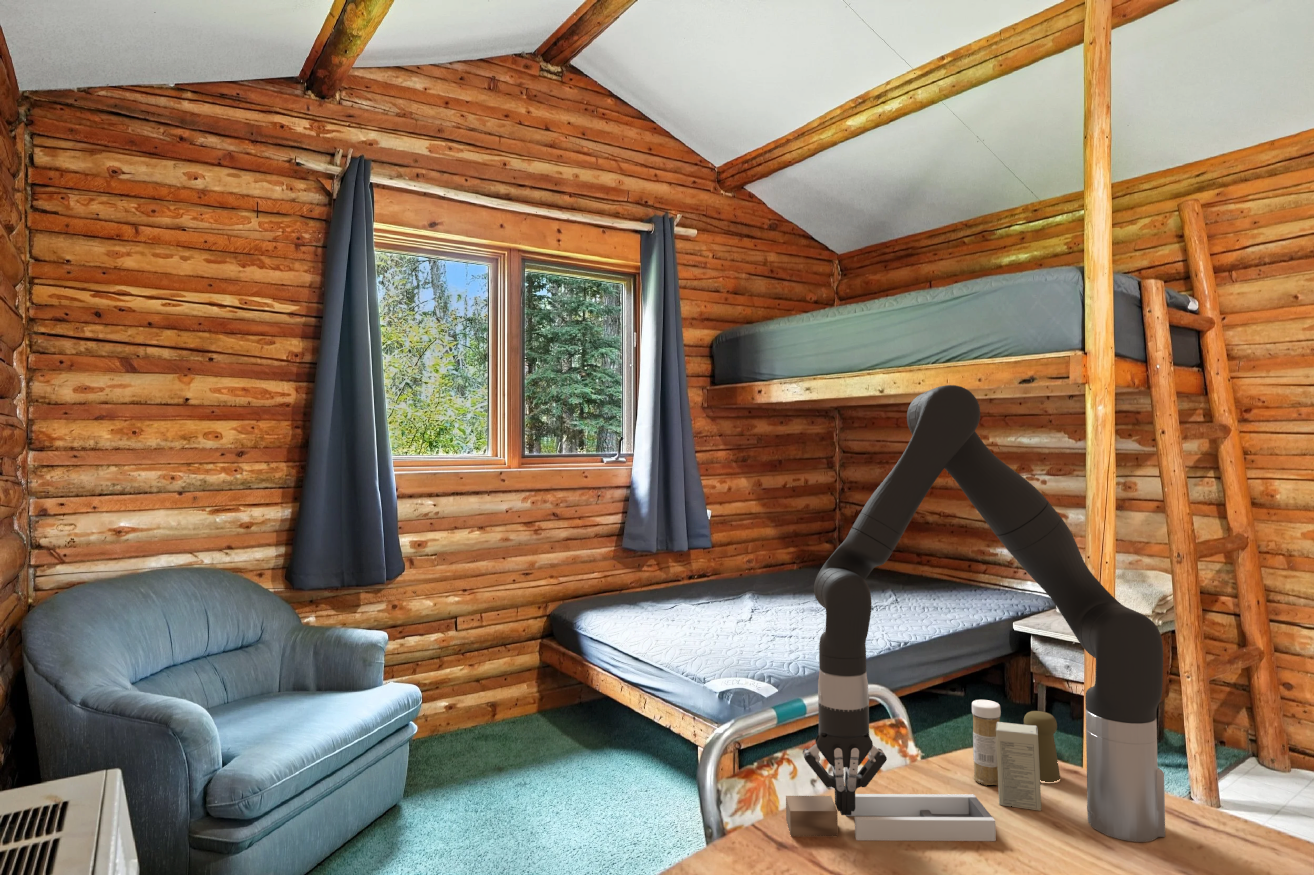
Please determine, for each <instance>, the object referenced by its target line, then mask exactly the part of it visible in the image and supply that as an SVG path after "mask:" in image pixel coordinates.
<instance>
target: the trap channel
mask: <svg viewBox="0 0 1314 875" xmlns="http://www.w3.org/2000/svg"><path fill="white" fill-rule="evenodd" d="M845 817H854V837H855V840H856V841H900V842H901V841H902V842H903V841H906V842H907V841H908V842H909V841H910V842H911V841H912V842H913V841H914V842H915V841H916V842H918V841H920V842H921V841H922V842H925V841H926V842H929V841H930V842H931V841H932V842H935V841H936V842H939V841H940V842H943V841H944V842H958V841H959V842H996V841H997V840H996V839H997V838H996V820H995V819H994V817H993V815H991V814H990V812H989V811H988V809H987V808H986V807H985V806H984V805H983V803H981V801H980V800H979V799H978V797H977V796H976V795H975V794H972V793H971V794H970V793H968V794H965V793H963V794H961V793H960V794H959V793H957V794H955V793H954V794H953V793H950V794H948V793H942V794H941V793H939V794H938V793H934V794H933V793H855V810H854V811H851V815H845Z"/></svg>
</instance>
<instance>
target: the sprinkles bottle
mask: <svg viewBox="0 0 1314 875" xmlns="http://www.w3.org/2000/svg"><path fill="white" fill-rule="evenodd" d="M971 713H972V719H973V720H972V722H973V726H972V729H973V730H972V744H973V745H972V750H973V768H974V769H973V773H974V774H973V780H974V781H975V782H976V781H977V782H976V783H978V784H980V783H981V784H980V785H983V784H984V785H983V786H987V785H997V786H998V767H997V745H996V724H997V722H1000V719H1001V713H1002V712H1001V705H1000V704H999V702H996V701H993V700H988V699H975V700H973V701H972V702H971Z"/></svg>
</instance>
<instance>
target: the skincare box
mask: <svg viewBox="0 0 1314 875" xmlns="http://www.w3.org/2000/svg"><path fill="white" fill-rule="evenodd" d="M996 745H997V767H998V785H997V787H998V804H999V806H1006V807H1011V806H1012V808H1013V807H1014V808H1020V809H1026V810H1031V811H1032V810H1033V811H1042V797H1041V796H1042V795H1041V794H1042V793H1041V791H1042V790H1041V783H1040V768H1039V747H1038V729H1037V726H1034V725H1025V724H1024V723H1023V724H1022V723H1013V722H1012V723H1011V722H1003V721H999V722H997V724H996Z"/></svg>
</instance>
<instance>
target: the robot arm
mask: <svg viewBox="0 0 1314 875" xmlns="http://www.w3.org/2000/svg"><path fill="white" fill-rule="evenodd" d="M980 420H981V408H980V404H979V402H978V399H977V398H976V396H975V395H974V394H973V393H972V391H970V390H969V389H968V388H965V387H963V386H960V385H954V384H948V385H946V384H945V385H941V386H937V387H934V388H932V389H929V390H927V391H925V392H922V393H921V394H919V395H917V396H916V397H915V398H913V400H912V401H911V403H910V404H909V406H908V408H907V412H906V422H907V423H906V424H907V427H908V429H909V431H910V433H911V438H910V439H909V442H908V444H907V446H906V448H905V450H904V451H903V453H902V455H901V456H900V458H899V459H898V461H897V463H896V464H895V465H894V466H893V468H892V470H891V471H890V472H889V473H888V475H887V476H886V477H885V478H884V479H883V481H882V482H880V484H879V485H878V487H877V488H876V489H875V490H874V491H873V493H872V494H871V496H870V497H869V498H868V499H867V501H866V503H865V505H864V506H863V508H861V509H862V510H861V511H860V513H859V514H858V516H857V517H856V519H855V521H854V523H853V525H852V526H851V528H850V530H849V532H848V534H847V536H846V538H845V539H844V540H843V542H842V543H841V544H840V545H838V546H837V547H836V549H835V550H834V551H833V553H832V554H831V555H830V556H829V558H828V559H827V560H826V561H825V563H824V564H823V565H822V567H821V568H820V570H819V572H818V573H817V575H816V578H815V581H814V586H813V591H814V596H815V599H816V601H817V602H818V603H819V605H820V606H822V607H823V608H824V609H825V630H824V631H823V632H822V634H821V635H820V637H819V643H818V645H819V648H818V652H819V654H818V660H819V664H818V665H819V673H818V674H819V675H818V680H817V692H818V693H817V694H818V695H817V697H818V698H817V699H818V700H817V702H818V704H817V706H818V707H817V708H818V733H817V736H816V738H815V740H814V741H815V743H814V745H812V746H811V747H809V748H804V749H803V750H802V755H803V758H804V760H805V762H806V763H807V764H808V766H809V767H810V769H812V771H813V772H814V773H815V775H816V776H817V777H818V778H819V780H820V781H821V782H822V783H823V785H824V786H825V787H826V788H833V789H834V804H835V806H836V809H837V812H839V813H840V814H841V816H846V815H851V811H854V810H855V794H856V791H857V789H859V788H866V787H868V785H869V784H870V782H872V780H873V779H874V777H875V776H876V775H877V773H878V772H879V771H880V770H881V769H882V767H883V766H884V764H886V762H887V759H888V758H887V755H886V754H885V752H884V751H883V749H882V748H877V746H875V745H874V743H873V740H872V739H871V737H870V706H869V705H870V704H869V703H870V694H869V681H868V675H867V673H868V672H867V648H866V647H867V646H866V642H867V639H868V638H867V637H868V633H869V627H870V623H871V615H872V594H871V590H870V587H869V585H868V583H867V581H866V579H867V578H868V576H870V574H871V572H872V571H873V570H874V569H875V568H876V567H879V566H883V565H884V564H885V563H886V562H887V561H888V560H889V558H890V557H891V555H893V554H892V553H893V552H894V550H895V549H896V548H897V545H898V543H899V542H900V540H901V539H902V536H903V535H904V533H905V532H906V529H907V528H908V526H909V524H910V523H911V521H912V519H913V517H914V515H915V514H916V512H917V510H918V509H919V507H920V505H921V504H922V502H923V500H924V499H925V498H926V495H927V494H928V492H929V491H930V490H931V488H932V486H933V485H934V484H935V482H936V481H937V480H938V478H939V476H940V475H941V474H942V472H943V471H944V470H945V471H946V472H947V473H948V474H949V475H950V476H951V477H952V479H953V480H954V481H955V482H956V484H958V486H959V488H960V489H961V490H962V492H963V493H964V494H965V496H966V498H967V499H968V500H969V502H970V503H971V505H973V507H974V508H975V509H976V511H977V512H978V514H980V517H981V518H983V520H984V521H985V522H986V524H987V525H988V526H989V528H990V530H991V531H992V532H993V534H994V535H995V536H996V537H997V539H998V540H999V541H1000V542H1001V544H1002V545H1003V546H1004V547H1005V549H1006V550H1007V551H1008V553H1010V555H1011V556H1012V557H1013V558H1014V559H1015V560H1016V561H1017V563H1018V564H1019V565H1020V566H1021V567H1022V568H1023V569H1024V571H1025V572H1026V573H1027V574H1028V575H1029V576H1030V578H1032V580H1034V581H1035V582H1036V584H1038V586H1039V587H1041V588H1042V590H1043V591H1044V592H1045V594H1047V595H1048V597H1049V598H1050V600H1052V602H1053V603H1054V605H1055V607H1056V608H1057V610H1058V611H1059V613H1060V615H1062V617H1063V618H1064V620H1065V622H1066V623H1067V625H1068V626H1069V629H1071V631H1072V633H1073V634H1074V636H1075V638H1076V639H1077V641H1078V642H1079V644H1080V645H1081V647H1082V648H1083V649H1084V650H1085V651H1086V652H1087V653H1088V654H1089V656H1091V657H1092V658H1094V659H1095V675H1094V676H1095V677H1094V678H1095V679H1094V686H1090V687H1089V688H1087V690H1086V692H1085V698H1084V699H1085V736H1086V737H1085V741H1086V742H1085V744H1086V746H1085V747H1086V748H1085V749H1086V750H1085V752H1086V793H1087V795H1086V796H1087V797H1086V799H1087V800H1086V801H1087V802H1086V804H1087V805H1086V811H1087V812H1086V813H1087V823H1088V824H1089V825H1090V826H1091V827H1092V828H1093V829H1095V831H1096V830H1097V831H1098V832H1100V833H1102V834H1103V835H1106V836H1108V837H1112V838H1115V839H1117V840H1118V839H1119V840H1122V841H1128V842H1135V843H1136V842H1137V843H1139V842H1140V843H1143V842H1151V841H1154V840H1155V839H1158V838H1161V837H1162V838H1164V837H1166V806H1165V805H1166V801H1165V798H1166V797H1165V795H1166V794H1165V772H1164V771H1163V770H1162V769H1160V768H1159V767H1158V739H1157V738H1158V730H1157V729H1158V728H1157V725H1158V724H1157V709H1158V706H1159V704H1161V703H1160V702H1161V700H1162V695H1163V681H1164V680H1163V678H1164V676H1163V675H1164V644H1163V639H1162V635H1161V632H1160V630H1159V628H1158V627H1157V625H1156V624H1155V622H1154V621H1153V620H1152V619H1151V618H1149V617H1147V616H1146V615H1144V614H1143V613H1140V612H1139V611H1136V610H1133V609H1131V608H1129V607H1127V606H1125V605H1124V604H1122V603H1121V602H1119V601H1118V600H1117V598H1115V597H1114V596H1113V594H1111V593H1110V592H1109V591H1108V590H1107V589H1106V588H1105V587H1104V586H1103V584H1101V582H1100V581H1099V580H1098V579H1097V578H1096V577H1095V575H1093V573H1092V572H1091V571H1090V569H1089V567H1088V565H1087V564H1086V562H1085V561H1084V558H1083V556H1082V553H1081V552H1080V549H1079V547H1078V544H1077V542H1076V539H1075V538H1074V536H1073V533H1072V531H1071V530H1070V529H1069V528H1070V527H1068V525H1067V523H1066V522H1065V521H1064V519H1063V518H1062V517H1061V515H1060V514H1059V513H1058V511H1056V509H1055V508H1054V507H1053V505H1051V503H1050V502H1049V501H1048V499H1047V498H1046V497H1045V495H1043V494H1042V492H1040V491H1039V490H1038V488H1036V487H1035V486H1034V485H1033V484H1032V483H1031V482H1030V481H1028V480H1027V479H1026V478H1024V476H1023V475H1021V474H1020V473H1018V472H1017V471H1016V470H1015V469H1013V468H1012V467H1010V466H1009V465H1007V464H1006V463H1005V462H1004V461H1002V460H1001V459H999V458H998V456H996V455H995V454H994V453H993V452H992V451H991V450H990V449H989V448H988V446H987V445H986V444H985V443H984V442H983V440H982V439H981V437H980V436H979V435H978V433H977V431H976V430H977V428H978V427H979V423H980ZM820 753H821V754H822V756H823V757H824V759H825V761H827V763H828V764H829V765H830V766H831V768H832V775H831V774H829V772H828V771H827V770H826V769H825V767H824V766H823V765H822V764H821V762H820V761H821V756H820ZM866 757H867V758H868V759H867V760H866V762H865V763H864V764H863V766H862V767H861V769H860V770H859V766H860V765H861V764H862V763H863V761H864V760H865V759H866ZM858 770H859V771H858Z"/></svg>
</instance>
